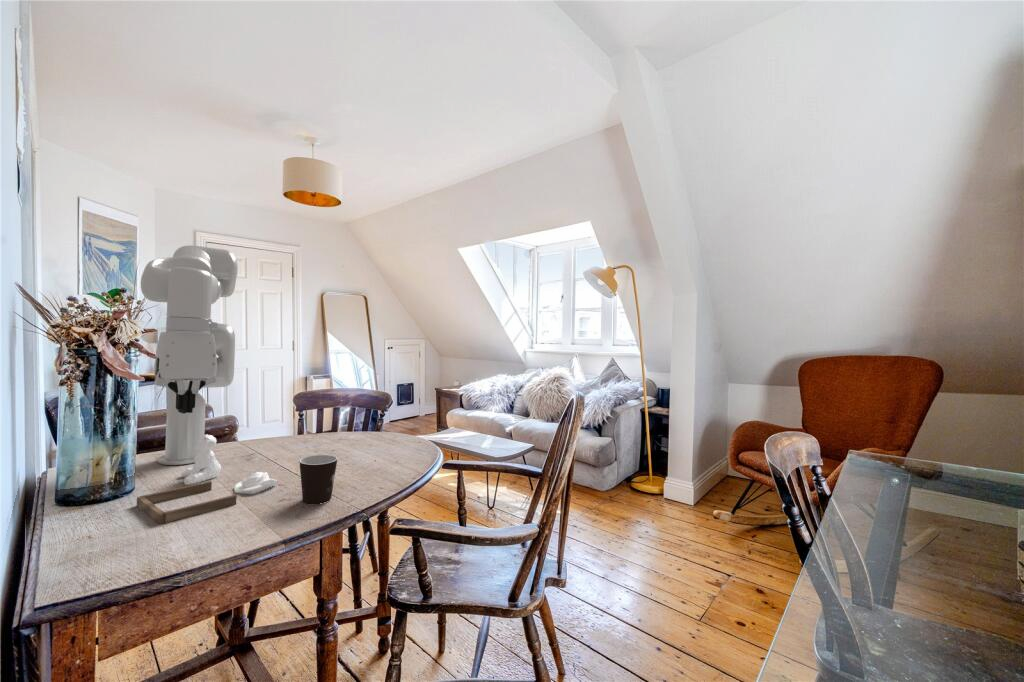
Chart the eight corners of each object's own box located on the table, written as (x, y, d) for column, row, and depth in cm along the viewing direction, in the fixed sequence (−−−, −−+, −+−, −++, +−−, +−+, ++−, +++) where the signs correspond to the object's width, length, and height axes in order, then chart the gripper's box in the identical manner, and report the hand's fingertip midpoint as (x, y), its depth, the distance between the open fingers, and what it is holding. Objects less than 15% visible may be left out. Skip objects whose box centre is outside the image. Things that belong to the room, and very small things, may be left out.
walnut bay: (136, 505, 98) (136, 497, 98) (209, 489, 110) (210, 481, 110) (159, 524, 89) (160, 515, 89) (236, 504, 101) (236, 495, 101)
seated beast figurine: (180, 476, 118) (181, 433, 118) (217, 470, 124) (219, 429, 123) (184, 486, 111) (186, 440, 111) (224, 479, 117) (226, 435, 117)
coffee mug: (321, 508, 101) (323, 466, 101) (289, 504, 102) (291, 462, 102) (349, 491, 112) (351, 453, 112) (320, 487, 114) (322, 450, 114)
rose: (275, 476, 109) (230, 480, 105) (274, 493, 109) (230, 498, 105) (279, 465, 118) (237, 468, 114) (278, 481, 118) (237, 484, 114)
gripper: (220, 327, 100) (217, 406, 100) (137, 324, 87) (134, 414, 87) (235, 328, 95) (231, 410, 95) (150, 325, 83) (146, 419, 83)
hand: (185, 412), depth 91 cm, fingers closed
